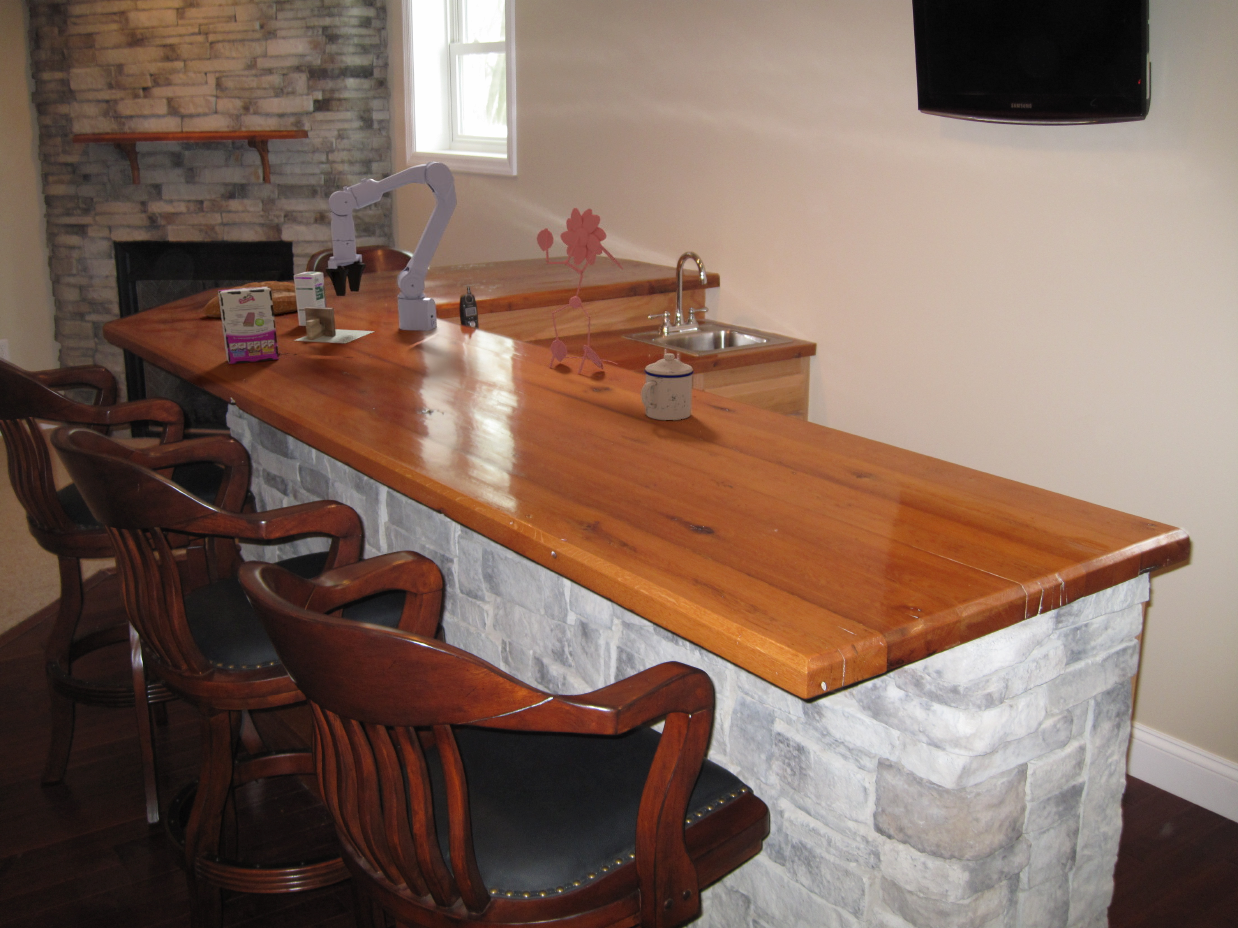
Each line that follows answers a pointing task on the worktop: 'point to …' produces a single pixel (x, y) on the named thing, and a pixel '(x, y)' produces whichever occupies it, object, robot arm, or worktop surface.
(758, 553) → the worktop surface
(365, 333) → the board
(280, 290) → the bread
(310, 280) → the syrup box
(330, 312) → the wooden c-clamp shape
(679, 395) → the teacup with lid
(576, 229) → the figurine
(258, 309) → the candy bar box
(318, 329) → the wooden u-shaped block
